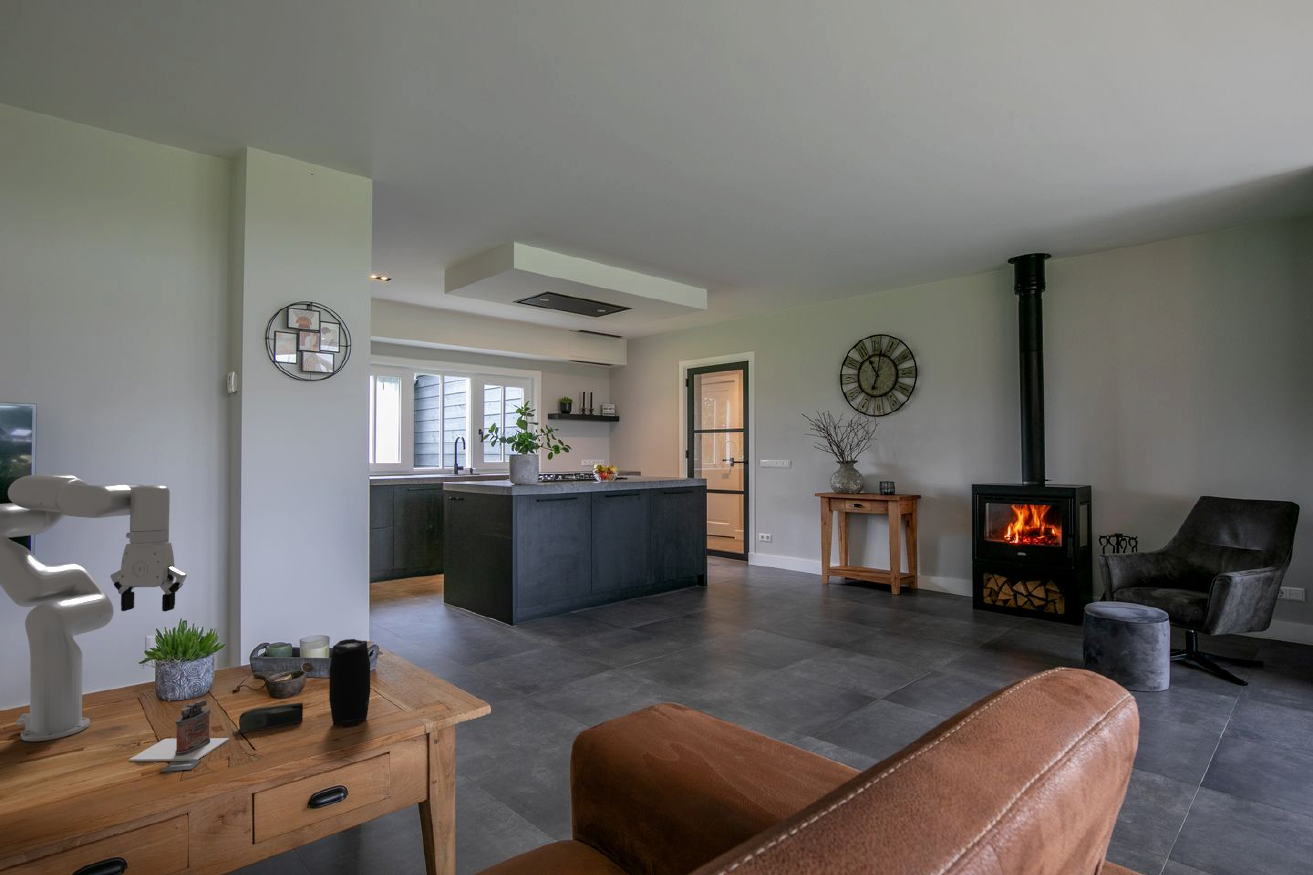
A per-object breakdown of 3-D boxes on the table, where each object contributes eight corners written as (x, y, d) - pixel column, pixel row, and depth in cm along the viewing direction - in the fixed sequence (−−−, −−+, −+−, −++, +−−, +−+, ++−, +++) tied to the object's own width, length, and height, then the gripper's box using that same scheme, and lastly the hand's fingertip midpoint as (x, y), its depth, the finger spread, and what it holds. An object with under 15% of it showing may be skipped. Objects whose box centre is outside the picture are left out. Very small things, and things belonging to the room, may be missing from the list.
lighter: (184, 756, 151) (184, 710, 151) (171, 755, 151) (171, 709, 152) (214, 741, 159) (214, 697, 159) (201, 740, 159) (201, 696, 160)
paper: (128, 761, 150) (128, 759, 150) (165, 740, 161) (165, 738, 161) (197, 760, 150) (197, 758, 150) (229, 739, 161) (229, 738, 161)
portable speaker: (377, 717, 173) (377, 639, 174) (345, 731, 165) (346, 649, 165) (353, 712, 177) (353, 636, 177) (321, 725, 169) (321, 645, 169)
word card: (160, 772, 144) (160, 770, 144) (170, 764, 148) (170, 762, 148) (191, 770, 145) (191, 768, 145) (200, 761, 149) (201, 759, 149)
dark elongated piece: (302, 700, 173) (232, 711, 165) (304, 703, 171) (233, 714, 163) (302, 720, 173) (232, 732, 165) (303, 724, 171) (232, 736, 162)
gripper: (100, 539, 160) (98, 613, 159) (174, 539, 159) (172, 614, 159) (125, 535, 167) (124, 606, 167) (196, 535, 167) (195, 606, 166)
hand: (147, 609), depth 163 cm, fingers open, 9 cm apart
